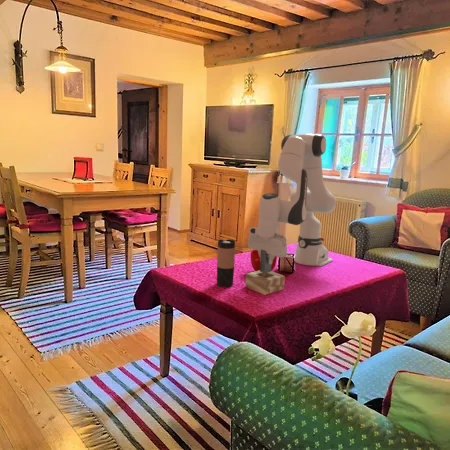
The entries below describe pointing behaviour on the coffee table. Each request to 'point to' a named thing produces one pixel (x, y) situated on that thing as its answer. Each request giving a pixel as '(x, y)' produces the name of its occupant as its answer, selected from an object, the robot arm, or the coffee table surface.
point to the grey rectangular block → (264, 262)
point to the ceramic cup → (256, 261)
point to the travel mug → (225, 262)
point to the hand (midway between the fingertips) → (266, 262)
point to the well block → (265, 282)
